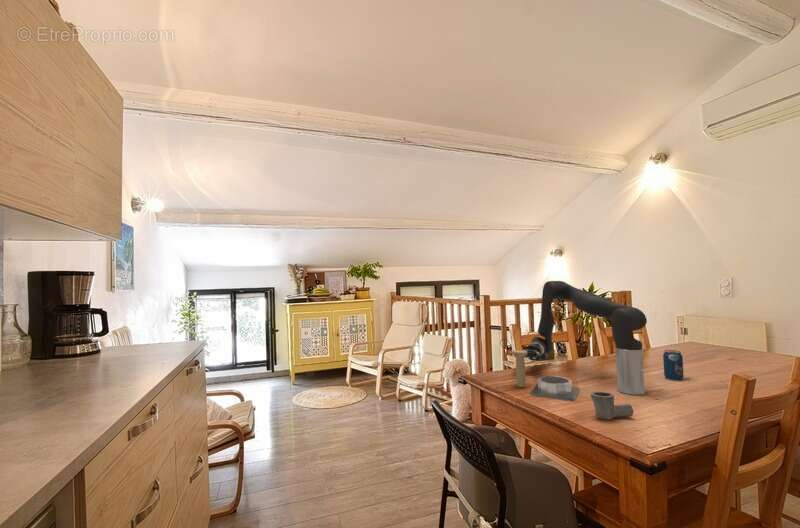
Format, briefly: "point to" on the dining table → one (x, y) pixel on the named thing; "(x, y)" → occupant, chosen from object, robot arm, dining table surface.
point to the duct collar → (555, 388)
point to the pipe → (609, 406)
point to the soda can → (673, 365)
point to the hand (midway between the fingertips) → (526, 357)
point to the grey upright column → (520, 367)
